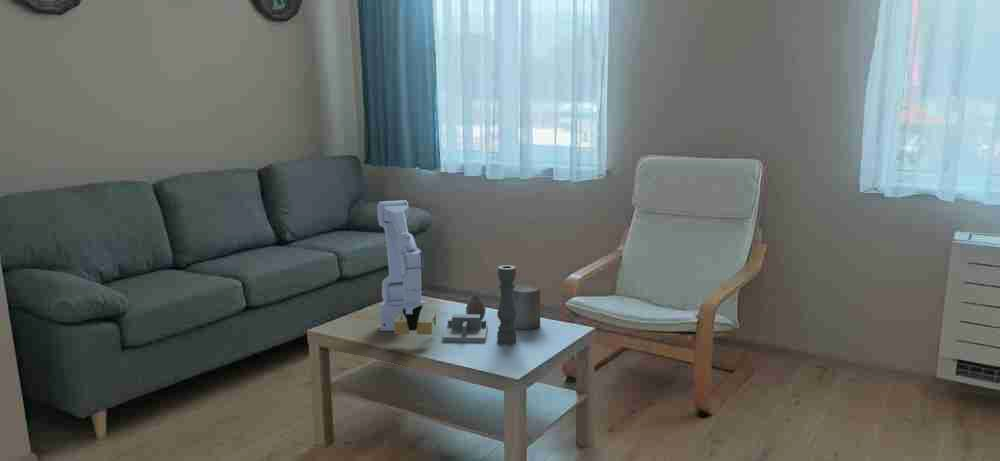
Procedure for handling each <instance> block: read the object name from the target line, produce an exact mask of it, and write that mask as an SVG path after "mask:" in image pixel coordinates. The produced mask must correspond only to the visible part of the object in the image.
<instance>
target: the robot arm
mask: <svg viewBox="0 0 1000 461" xmlns="http://www.w3.org/2000/svg"><path fill="white" fill-rule="evenodd" d="M376 206H377V208H376V213H377V214H376V215H377V223H378V225H379V226H380V227H381V228H383V230H384V236H385V245H386V246H385V247H386V255H387V265H388V266H387V267H388V275H387V276H386V277H385V278H384V279H383V280H382V282H381V298H382V301H383V302H381V305H380V331H385V332H386V331H390V332H392V331H394V321H395V320H396V318H397V317H398V315H399V314H400V312H403V321H407V323H408V328H409V330H410V332H411V331H413V332H414V331H415V332H417V330H416V328H417V321H420V315H421V312H422V309H423V306H424V305H425V304H426V300H423V299H422V269H423V267H424V255H423V253H422V251H421V249H420V248H418V247H417V244H416V241H415V238H414V235H413V234H412V233H409V228H408V224H407V220H408V217H409V214H410V206H409V202H408V200H406V199H402V200H401V199H400V200H386V201H381V200H379V201H378V203H377V205H376ZM399 321H400V319H399Z"/></svg>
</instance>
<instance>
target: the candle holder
mask: <svg viewBox="0 0 1000 461" xmlns="http://www.w3.org/2000/svg"><path fill="white" fill-rule="evenodd" d="M516 273H517V272H516V266H514V265H509V264H507V265H506V264H503V265H499V266H498V267H497V277H498V281H499V282H500V284H498V288H499V289H500V300H499V305H498V308H497V318H498V320H499V323H500V324H499V326H498V327H497V329H498V330H497V335H496V338H497V342H496V343H497V344H500V345H504V346H508V345H509V346H512V345H514V344H516V343H517V330H516V329H517V328H516V327H515V326H514V324H513V322H514V319H515V317H516V310H515V306H514V301H513V289H514V288H515V286H516V285H515V284H514V281H515V279H516V276H517V274H516Z"/></svg>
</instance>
